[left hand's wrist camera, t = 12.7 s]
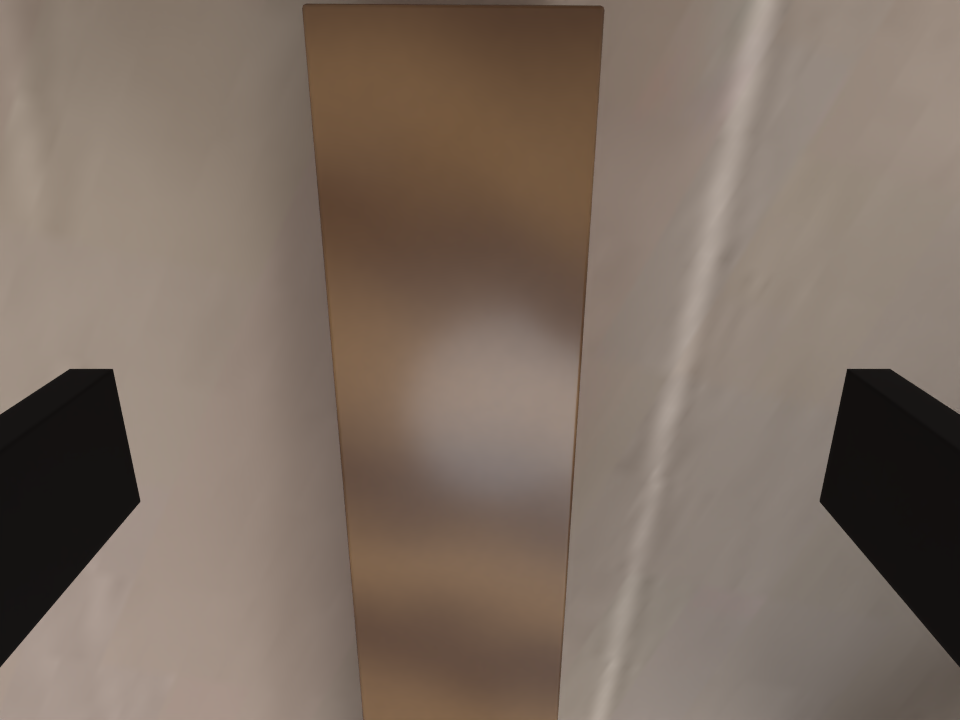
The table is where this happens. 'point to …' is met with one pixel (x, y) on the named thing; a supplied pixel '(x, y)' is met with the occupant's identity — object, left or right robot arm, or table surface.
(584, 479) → the table surface
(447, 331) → the post
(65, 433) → the left robot arm
